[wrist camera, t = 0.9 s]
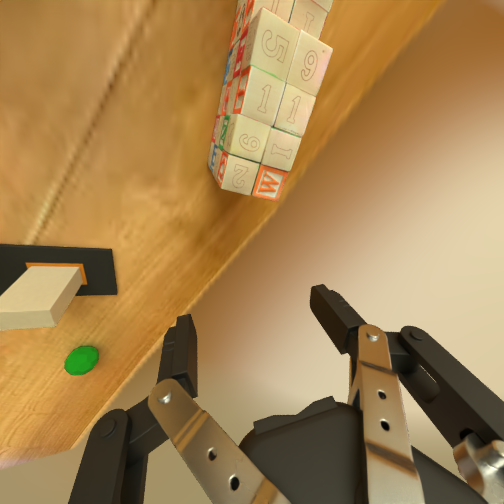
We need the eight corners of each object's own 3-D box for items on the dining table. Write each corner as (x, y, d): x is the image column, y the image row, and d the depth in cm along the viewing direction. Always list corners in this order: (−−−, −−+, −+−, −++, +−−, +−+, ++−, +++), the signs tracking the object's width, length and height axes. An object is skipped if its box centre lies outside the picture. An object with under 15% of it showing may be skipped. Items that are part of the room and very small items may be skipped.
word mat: (-119, 298, 26) (-125, 302, 25) (-175, 236, 21) (-185, 239, 21) (117, 292, 35) (116, 295, 35) (111, 248, 31) (110, 251, 30)
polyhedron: (79, 338, 38) (67, 362, 34) (106, 344, 41) (99, 367, 37) (66, 353, 39) (54, 378, 35) (94, 358, 42) (85, 382, 38)
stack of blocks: (250, -77, 18) (330, -299, 9) (305, -32, 21) (416, -165, 11) (206, 165, 28) (220, 190, 18) (247, 176, 31) (278, 203, 21)
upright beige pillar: (31, 266, 28) (-17, 312, 21) (79, 266, 30) (49, 309, 23) (37, 283, 30) (-6, 332, 23) (83, 283, 32) (56, 327, 25)
